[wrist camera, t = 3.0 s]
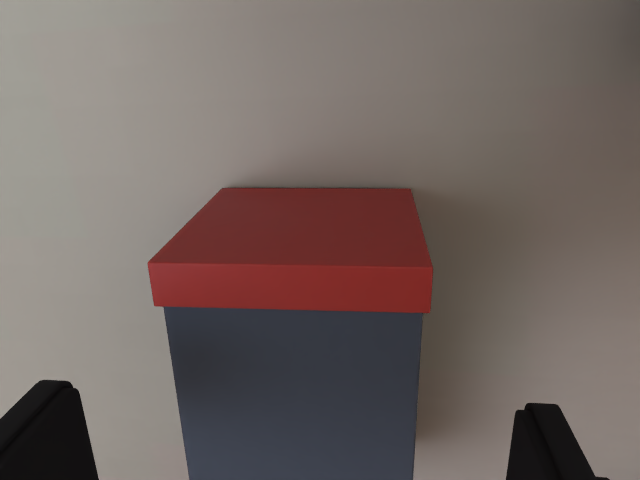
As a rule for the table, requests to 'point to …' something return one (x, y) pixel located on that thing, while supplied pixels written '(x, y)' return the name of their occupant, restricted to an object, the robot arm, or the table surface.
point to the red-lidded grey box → (297, 332)
